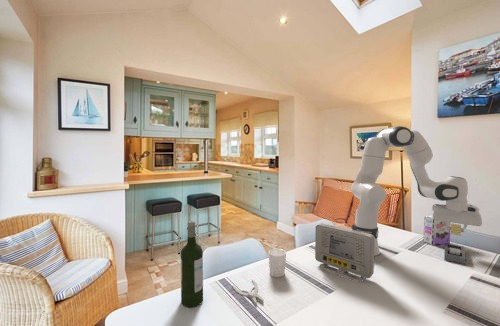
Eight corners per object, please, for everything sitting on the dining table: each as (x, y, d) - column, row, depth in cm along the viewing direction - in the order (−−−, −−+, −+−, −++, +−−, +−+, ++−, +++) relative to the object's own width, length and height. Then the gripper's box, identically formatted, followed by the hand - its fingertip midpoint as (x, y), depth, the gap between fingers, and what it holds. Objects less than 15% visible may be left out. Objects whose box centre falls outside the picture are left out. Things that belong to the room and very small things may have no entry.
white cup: (287, 271, 109) (288, 250, 108) (282, 279, 102) (283, 257, 101) (271, 268, 112) (271, 247, 112) (265, 275, 105) (266, 254, 105)
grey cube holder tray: (444, 260, 121) (444, 254, 120) (444, 247, 136) (445, 242, 136) (465, 264, 115) (465, 258, 115) (463, 251, 131) (463, 246, 131)
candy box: (432, 245, 139) (433, 218, 138) (422, 241, 145) (423, 215, 144) (450, 243, 142) (451, 216, 142) (440, 239, 148) (441, 214, 147)
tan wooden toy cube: (450, 234, 129) (451, 225, 128) (450, 232, 132) (451, 223, 131) (460, 235, 126) (460, 226, 126) (460, 233, 129) (460, 224, 129)
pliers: (253, 278, 101) (271, 297, 88) (253, 281, 101) (271, 301, 88) (231, 283, 97) (247, 304, 83) (231, 287, 97) (247, 309, 83)
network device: (375, 278, 103) (376, 233, 102) (368, 286, 97) (370, 238, 96) (320, 259, 121) (321, 221, 120) (312, 265, 114) (312, 225, 113)
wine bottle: (186, 294, 92) (185, 218, 90) (205, 295, 91) (205, 218, 89) (177, 307, 84) (176, 224, 82) (199, 309, 83) (198, 225, 81)
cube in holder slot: (449, 259, 122) (449, 249, 121) (449, 256, 125) (449, 247, 124) (459, 261, 119) (460, 251, 119) (459, 258, 122) (459, 249, 122)
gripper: (432, 204, 132) (431, 228, 133) (482, 209, 119) (482, 236, 120) (432, 202, 137) (432, 225, 138) (481, 207, 124) (480, 233, 125)
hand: (455, 230), depth 129 cm, fingers closed on tan wooden toy cube, 4 cm apart
